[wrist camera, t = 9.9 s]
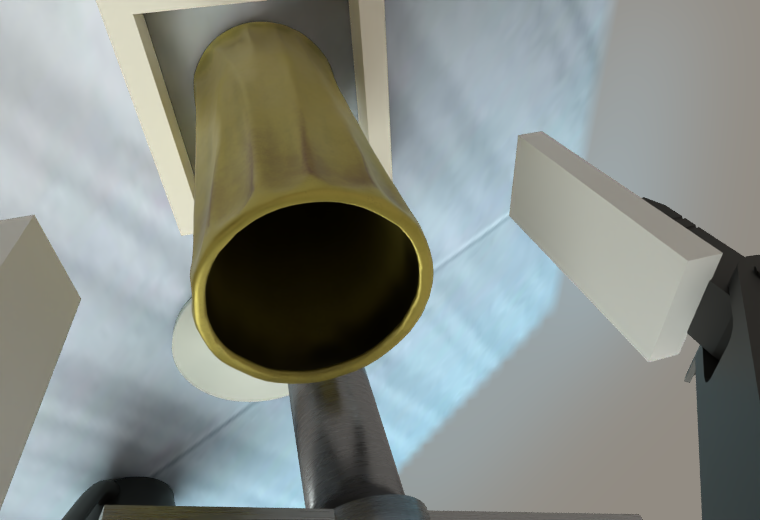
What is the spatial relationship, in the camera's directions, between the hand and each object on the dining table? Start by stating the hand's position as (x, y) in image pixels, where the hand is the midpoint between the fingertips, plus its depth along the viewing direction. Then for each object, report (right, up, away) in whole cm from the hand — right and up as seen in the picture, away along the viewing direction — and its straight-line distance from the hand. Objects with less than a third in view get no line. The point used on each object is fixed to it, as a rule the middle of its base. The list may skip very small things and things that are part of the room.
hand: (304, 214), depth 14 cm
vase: (-3, +6, +8) cm, 10 cm away
